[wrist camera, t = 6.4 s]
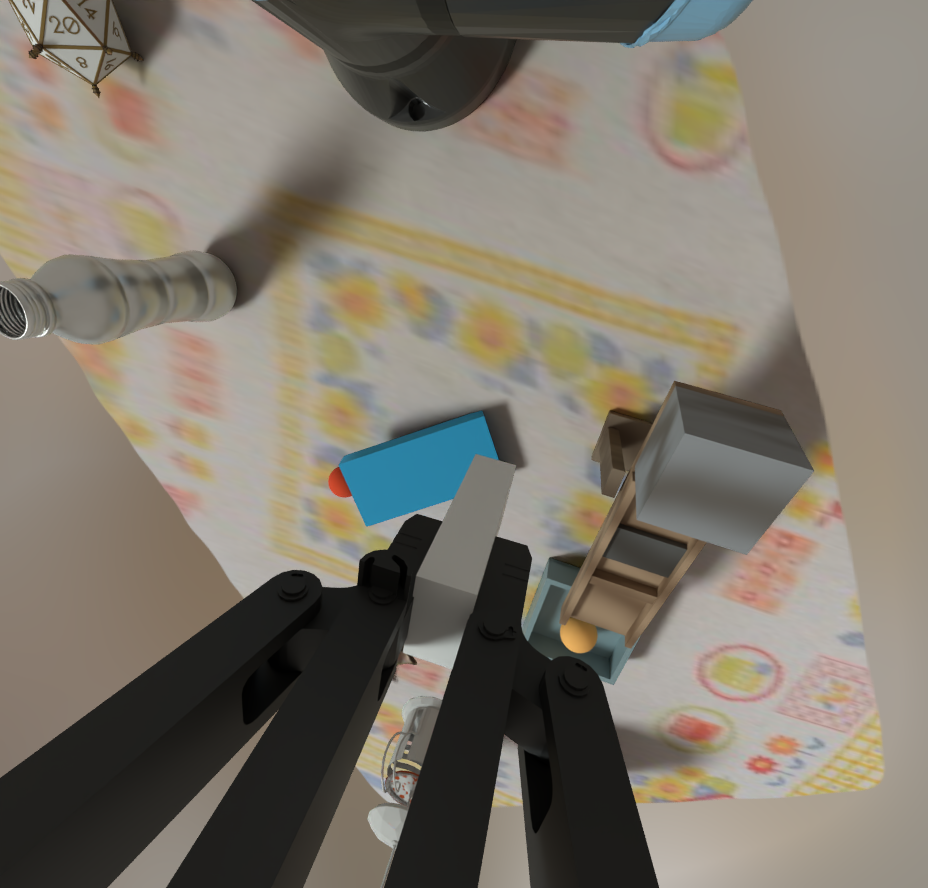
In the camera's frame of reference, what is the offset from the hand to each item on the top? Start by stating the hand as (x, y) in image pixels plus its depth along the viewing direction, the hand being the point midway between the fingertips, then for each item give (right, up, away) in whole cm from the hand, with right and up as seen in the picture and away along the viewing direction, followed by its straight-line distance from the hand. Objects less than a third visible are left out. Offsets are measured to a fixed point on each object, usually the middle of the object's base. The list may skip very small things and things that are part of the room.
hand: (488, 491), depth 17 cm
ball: (+12, -19, +35) cm, 41 cm away
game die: (-32, +37, +25) cm, 55 cm away
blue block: (-6, 0, +35) cm, 35 cm away
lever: (+14, -5, +22) cm, 27 cm away
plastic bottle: (-26, +18, +31) cm, 45 cm away
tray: (+12, -17, +37) cm, 42 cm away
